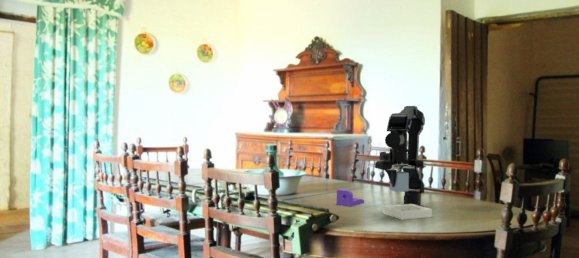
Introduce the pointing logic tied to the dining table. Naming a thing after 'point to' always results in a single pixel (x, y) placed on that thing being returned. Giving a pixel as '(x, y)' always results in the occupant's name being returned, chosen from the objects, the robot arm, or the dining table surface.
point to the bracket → (347, 198)
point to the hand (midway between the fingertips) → (399, 186)
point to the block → (401, 182)
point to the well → (407, 211)
